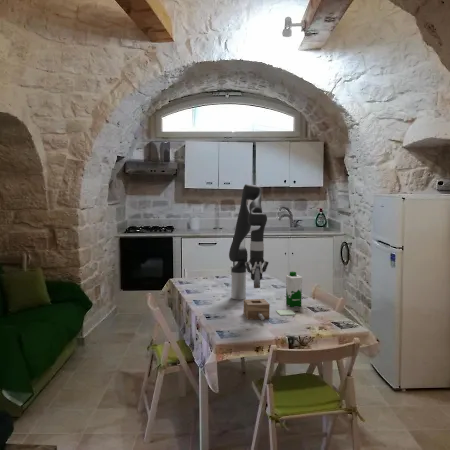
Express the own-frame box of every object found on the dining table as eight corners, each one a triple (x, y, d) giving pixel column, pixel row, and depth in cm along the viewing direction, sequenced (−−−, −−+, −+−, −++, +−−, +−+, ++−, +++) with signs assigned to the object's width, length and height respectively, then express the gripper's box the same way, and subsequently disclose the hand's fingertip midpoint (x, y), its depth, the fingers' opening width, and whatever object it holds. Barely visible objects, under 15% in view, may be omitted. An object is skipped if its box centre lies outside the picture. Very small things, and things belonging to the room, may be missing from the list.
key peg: (258, 286, 260) (257, 263, 260) (262, 287, 256) (262, 263, 256) (251, 287, 258) (250, 263, 258) (255, 288, 254) (255, 264, 254)
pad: (275, 311, 269) (275, 310, 269) (290, 310, 271) (290, 309, 271) (280, 315, 260) (280, 314, 260) (295, 315, 262) (295, 314, 262)
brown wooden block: (243, 313, 265) (243, 299, 264) (263, 312, 267) (264, 298, 266) (251, 324, 244) (251, 309, 243) (273, 323, 246) (273, 308, 245)
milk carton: (297, 303, 288) (297, 271, 287) (303, 306, 280) (304, 274, 278) (284, 303, 286) (284, 271, 284) (290, 307, 277) (290, 274, 276)
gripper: (265, 247, 262) (265, 277, 264) (242, 248, 257) (242, 279, 259) (271, 249, 255) (270, 280, 257) (247, 250, 250) (247, 282, 252)
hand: (256, 279), depth 258 cm, fingers closed on key peg, 3 cm apart
